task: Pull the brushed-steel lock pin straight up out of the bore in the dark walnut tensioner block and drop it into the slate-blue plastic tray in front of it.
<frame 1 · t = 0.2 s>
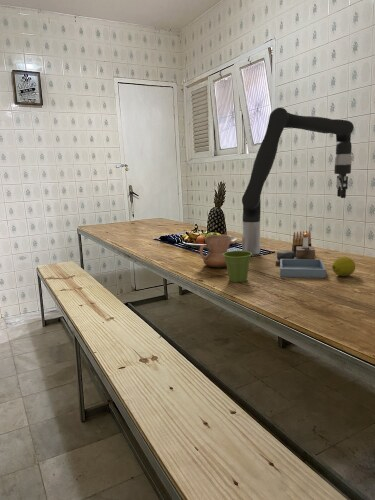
hand: (341, 197, 190), 29 cm above the table, fingers open, 8 cm apart
ammunition clip: (301, 254, 200), on the table
tensioner: (295, 262, 182), on the table
lemon: (342, 276, 157), on the table
lock pin: (305, 258, 181), point 2 cm above the table, touching tensioner
ceramic jug: (217, 266, 182), on the table
tray: (301, 271, 166), on the table
plant pot: (237, 280, 157), on the table
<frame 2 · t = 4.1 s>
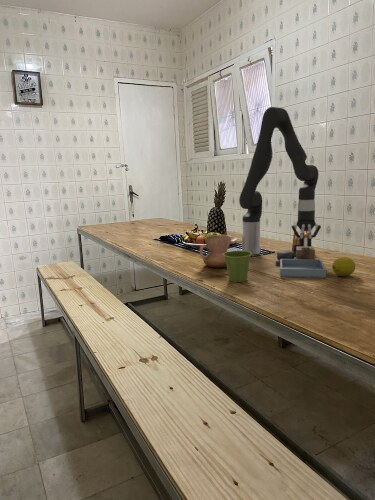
hand: (305, 246, 179), 8 cm above the table, fingers closed on lock pin, 2 cm apart
lock pin: (305, 258, 181), point 2 cm above the table, touching gripper, tensioner
everything else where it was.
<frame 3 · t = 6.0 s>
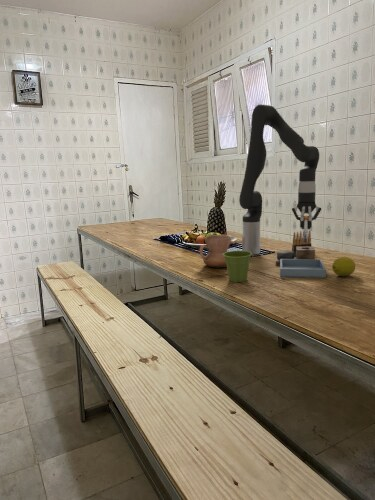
hand: (305, 228, 178), 16 cm above the table, fingers closed on lock pin, 2 cm apart
lock pin: (305, 241, 179), point 10 cm above the table, touching gripper
everything else where it was.
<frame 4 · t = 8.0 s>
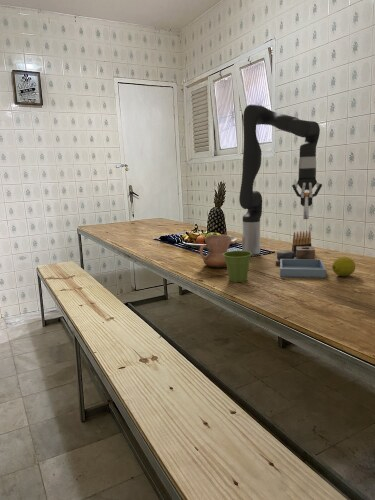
hand: (306, 205, 176), 27 cm above the table, fingers closed on lock pin, 2 cm apart
lock pin: (305, 218, 177), point 21 cm above the table, touching gripper
everything else where it was.
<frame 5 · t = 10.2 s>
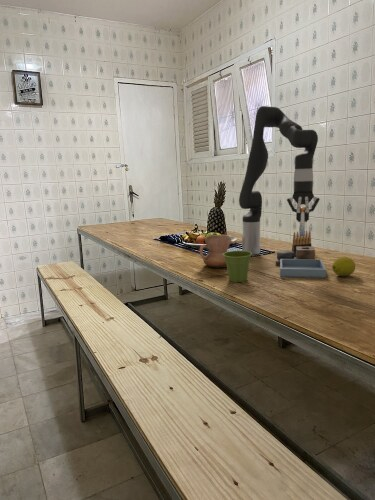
hand: (302, 221, 162), 22 cm above the table, fingers closed on lock pin, 2 cm apart
lock pin: (302, 235, 163), point 16 cm above the table, touching gripper
everything else where it was.
when the fingers open (10 cm above the table, at t = 12.2 s): lock pin drops 3 cm, resting on tray.
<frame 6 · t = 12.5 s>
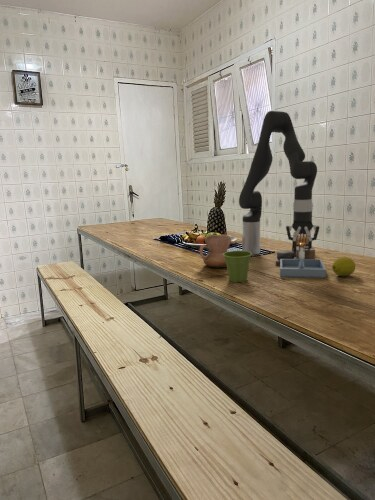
hand: (301, 249, 164), 10 cm above the table, fingers open, 5 cm apart
lock pin: (301, 270, 166), point 1 cm above the table, touching tray
everything else where it was.
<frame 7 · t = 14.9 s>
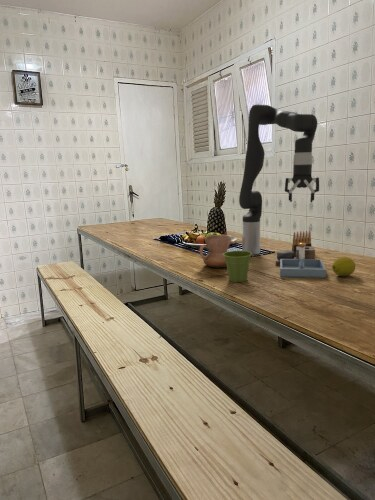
hand: (301, 201, 166), 30 cm above the table, fingers open, 8 cm apart
nothing on the table moved.
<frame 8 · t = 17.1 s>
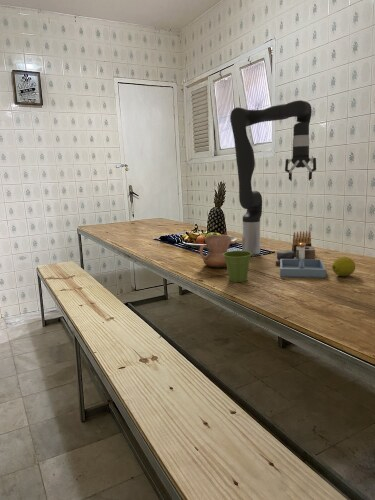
hand: (300, 180, 183), 38 cm above the table, fingers open, 8 cm apart
nothing on the table moved.
at the end: lock pin inside the target area on the tray (0.1 cm from its centre), point 0.6 cm above the tray's base; the gripper is holding nothing; lock pin moved 16.7 cm from its start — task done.
